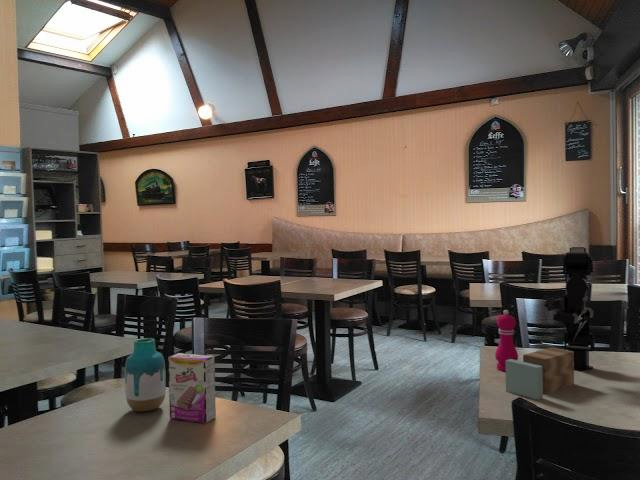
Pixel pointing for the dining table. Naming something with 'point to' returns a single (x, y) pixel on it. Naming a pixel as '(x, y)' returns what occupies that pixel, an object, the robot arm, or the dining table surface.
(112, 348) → the dining table surface
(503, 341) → the pepper mill
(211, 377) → the candy bar box
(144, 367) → the vase
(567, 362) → the wooden block
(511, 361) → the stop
